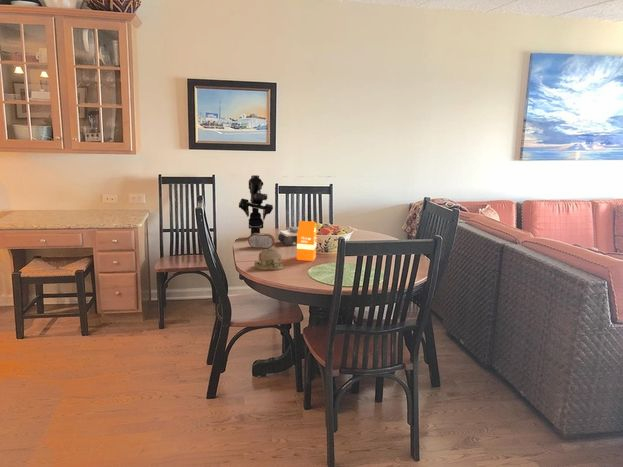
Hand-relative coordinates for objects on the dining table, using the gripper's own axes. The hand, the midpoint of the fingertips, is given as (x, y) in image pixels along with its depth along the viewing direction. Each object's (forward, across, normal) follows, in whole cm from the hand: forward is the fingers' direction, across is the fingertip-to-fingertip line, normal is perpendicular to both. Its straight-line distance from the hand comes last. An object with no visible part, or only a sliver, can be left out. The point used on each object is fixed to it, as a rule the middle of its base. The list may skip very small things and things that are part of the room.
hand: (256, 218), depth 258 cm
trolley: (+2, +27, +14) cm, 30 cm away
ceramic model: (+39, +2, -12) cm, 41 cm away
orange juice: (+27, +24, -9) cm, 38 cm away
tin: (+10, +8, +13) cm, 18 cm away
